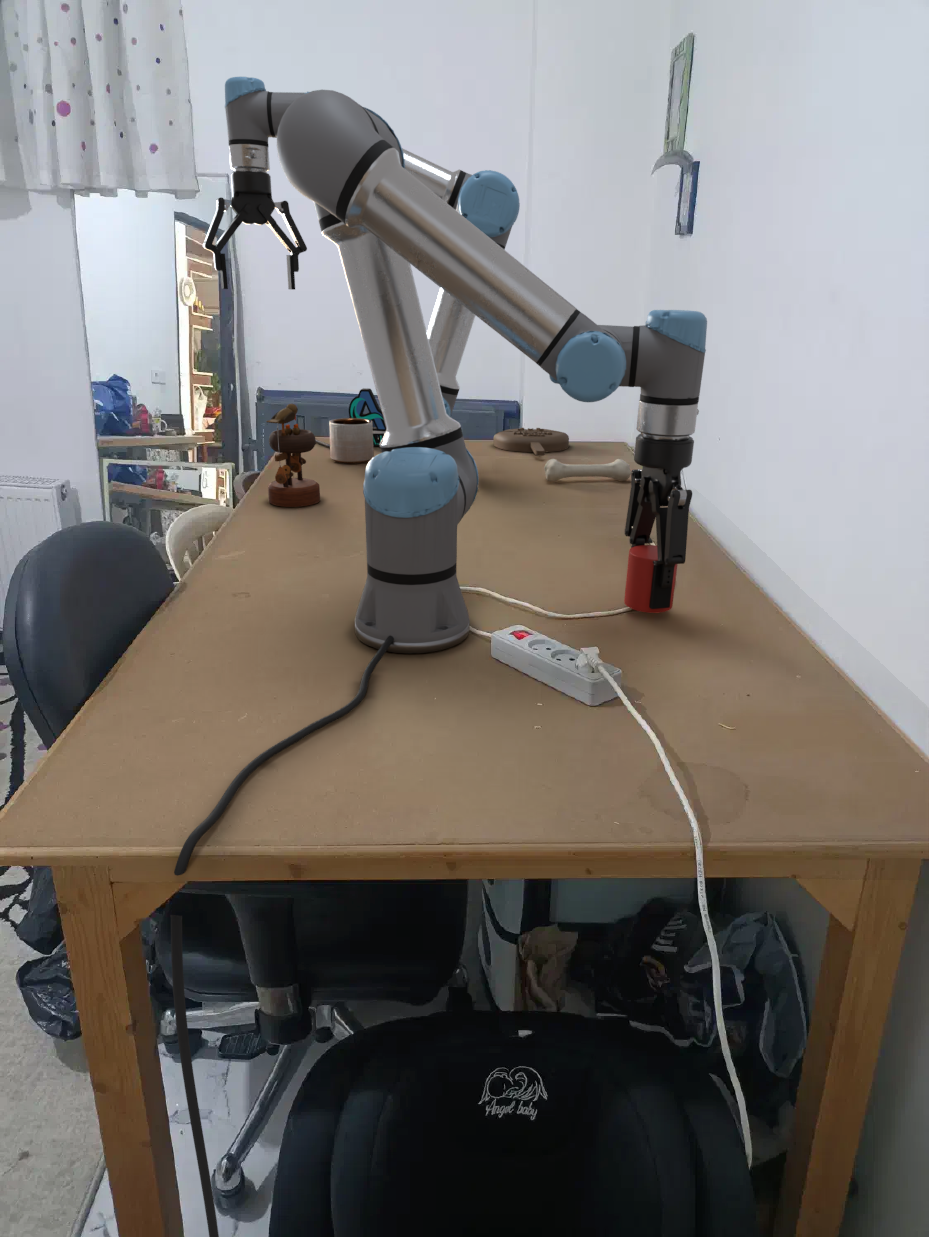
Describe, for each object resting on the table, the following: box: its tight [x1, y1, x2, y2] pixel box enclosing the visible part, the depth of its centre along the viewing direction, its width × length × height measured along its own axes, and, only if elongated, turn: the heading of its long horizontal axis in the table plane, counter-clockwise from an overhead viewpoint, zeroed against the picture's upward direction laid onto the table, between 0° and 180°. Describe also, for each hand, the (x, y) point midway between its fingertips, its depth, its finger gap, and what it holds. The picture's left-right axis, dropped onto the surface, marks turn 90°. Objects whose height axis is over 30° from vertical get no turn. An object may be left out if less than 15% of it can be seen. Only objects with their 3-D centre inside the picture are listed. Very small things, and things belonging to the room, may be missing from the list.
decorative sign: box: [348, 387, 386, 447], centre depth 229 cm, size 19×2×15 cm, turn 86°
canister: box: [623, 544, 678, 614], centre depth 119 cm, size 7×7×8 cm
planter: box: [328, 417, 375, 464], centre depth 212 cm, size 11×11×10 cm
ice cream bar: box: [492, 427, 570, 457], centre depth 228 cm, size 21×28×4 cm
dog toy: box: [543, 458, 632, 482], centre depth 196 cm, size 20×6×5 cm, turn 99°
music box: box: [266, 403, 321, 508], centre depth 172 cm, size 15×11×20 cm
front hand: (647, 597), depth 120 cm, fingers closed on canister, 7 cm apart
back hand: (258, 289), depth 172 cm, fingers open, 13 cm apart
